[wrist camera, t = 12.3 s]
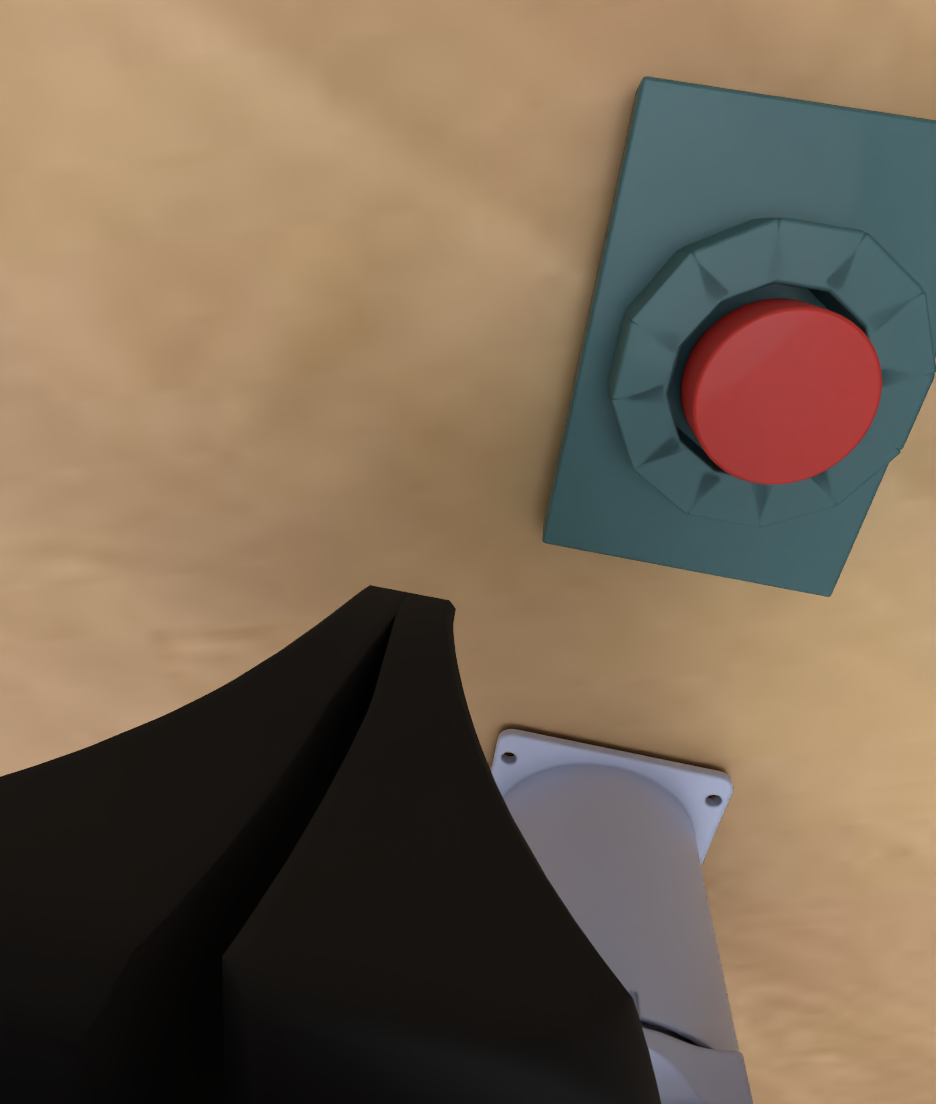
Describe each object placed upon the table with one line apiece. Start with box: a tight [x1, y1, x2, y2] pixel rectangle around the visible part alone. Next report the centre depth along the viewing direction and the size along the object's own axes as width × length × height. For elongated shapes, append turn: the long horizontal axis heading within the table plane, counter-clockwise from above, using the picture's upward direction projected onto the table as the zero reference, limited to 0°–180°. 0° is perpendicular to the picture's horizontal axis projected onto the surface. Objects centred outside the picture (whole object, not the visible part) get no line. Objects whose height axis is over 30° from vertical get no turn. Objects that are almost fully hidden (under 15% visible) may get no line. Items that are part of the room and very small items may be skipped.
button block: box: [542, 77, 936, 597], centre depth 17 cm, size 11×8×3 cm
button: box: [681, 298, 882, 485], centre depth 15 cm, size 4×4×2 cm
